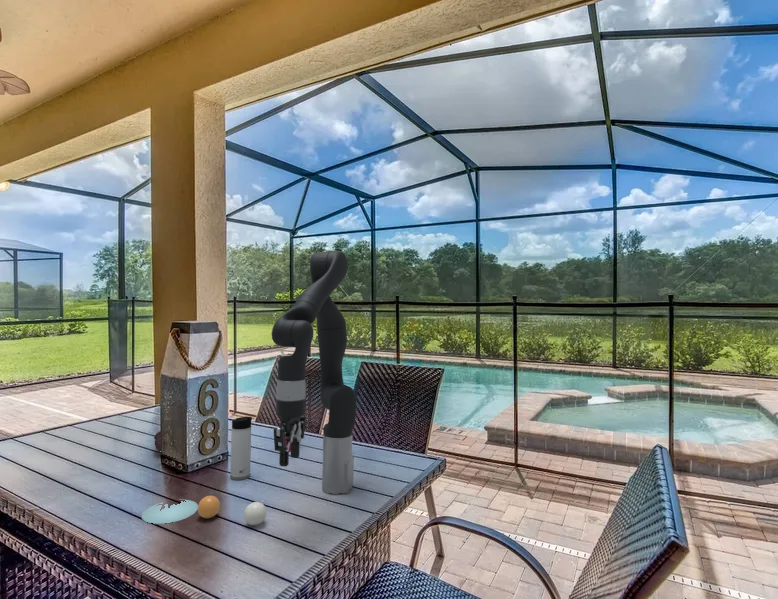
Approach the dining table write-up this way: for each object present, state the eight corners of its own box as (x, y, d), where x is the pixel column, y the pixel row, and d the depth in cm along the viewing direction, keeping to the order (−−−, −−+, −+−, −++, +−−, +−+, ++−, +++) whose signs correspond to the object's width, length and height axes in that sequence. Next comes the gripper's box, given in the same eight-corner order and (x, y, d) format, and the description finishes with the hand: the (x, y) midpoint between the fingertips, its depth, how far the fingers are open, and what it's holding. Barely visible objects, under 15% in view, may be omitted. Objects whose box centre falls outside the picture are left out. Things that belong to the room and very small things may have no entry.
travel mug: (244, 481, 144) (246, 420, 144) (226, 479, 145) (228, 418, 145) (254, 474, 150) (255, 415, 150) (236, 472, 151) (238, 414, 151)
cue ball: (269, 520, 118) (270, 499, 118) (259, 530, 113) (259, 508, 113) (251, 517, 120) (251, 497, 120) (239, 527, 114) (240, 506, 114)
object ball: (223, 513, 121) (224, 493, 122) (211, 523, 116) (211, 502, 116) (206, 511, 123) (206, 491, 123) (192, 520, 117) (193, 499, 117)
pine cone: (144, 452, 169) (145, 426, 169) (170, 445, 177) (171, 421, 177) (167, 463, 158) (167, 435, 158) (193, 455, 166) (194, 429, 166)
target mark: (208, 503, 127) (208, 502, 127) (174, 527, 114) (174, 526, 114) (167, 497, 131) (167, 497, 131) (129, 520, 117) (129, 519, 117)
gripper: (292, 403, 107) (290, 473, 106) (315, 392, 121) (314, 453, 120) (264, 401, 108) (262, 469, 108) (290, 390, 122) (288, 451, 122)
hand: (289, 461), depth 114 cm, fingers open, 5 cm apart
